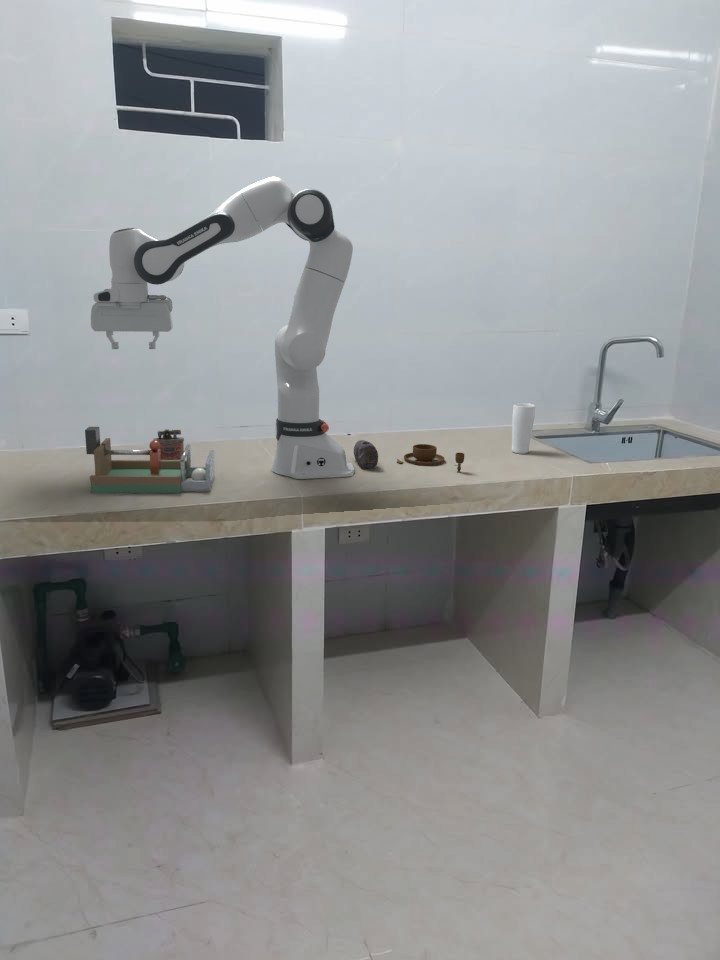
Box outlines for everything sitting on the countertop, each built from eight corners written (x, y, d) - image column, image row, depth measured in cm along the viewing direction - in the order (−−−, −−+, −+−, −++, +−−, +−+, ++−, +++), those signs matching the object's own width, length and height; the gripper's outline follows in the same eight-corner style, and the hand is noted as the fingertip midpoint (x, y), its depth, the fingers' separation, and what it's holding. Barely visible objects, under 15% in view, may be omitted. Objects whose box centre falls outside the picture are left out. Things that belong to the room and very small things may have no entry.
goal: (214, 476, 195) (213, 444, 193) (210, 491, 182) (209, 457, 180) (187, 475, 195) (186, 444, 192) (181, 491, 181) (179, 457, 179)
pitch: (187, 474, 196) (186, 437, 193) (180, 492, 180) (179, 452, 178) (105, 474, 193) (103, 437, 190) (91, 492, 178) (88, 452, 175)
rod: (162, 469, 188) (160, 427, 185) (160, 474, 185) (158, 430, 182) (91, 469, 186) (88, 426, 183) (88, 473, 183) (84, 430, 180)
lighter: (154, 467, 202) (153, 431, 199) (154, 464, 205) (152, 428, 202) (185, 466, 204) (183, 430, 201) (184, 463, 207) (183, 427, 204)
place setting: (448, 457, 226) (449, 438, 224) (466, 475, 207) (468, 454, 205) (391, 457, 223) (392, 438, 221) (405, 475, 204) (406, 455, 202)
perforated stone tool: (349, 457, 219) (349, 434, 217) (366, 457, 220) (367, 434, 218) (360, 471, 205) (361, 446, 203) (379, 470, 206) (380, 446, 204)
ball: (209, 468, 190) (194, 464, 189) (208, 472, 186) (192, 468, 185) (206, 482, 191) (191, 479, 190) (205, 487, 187) (189, 483, 186)
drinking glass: (532, 455, 229) (537, 407, 225) (510, 454, 230) (515, 406, 225) (528, 450, 236) (533, 403, 232) (507, 449, 236) (511, 402, 232)
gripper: (173, 294, 195) (175, 347, 199) (92, 293, 192) (96, 347, 196) (170, 295, 189) (173, 350, 193) (86, 294, 186) (91, 350, 190)
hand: (134, 349), depth 195 cm, fingers open, 8 cm apart
